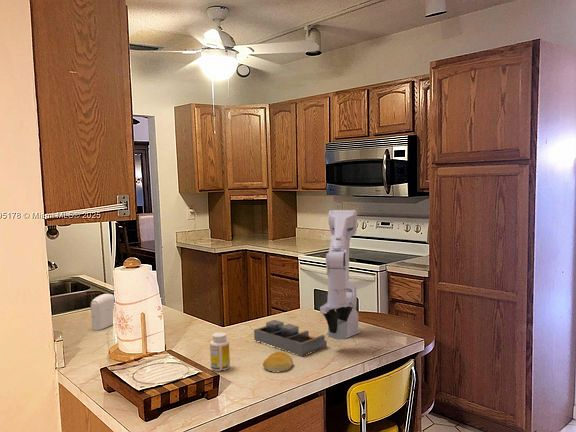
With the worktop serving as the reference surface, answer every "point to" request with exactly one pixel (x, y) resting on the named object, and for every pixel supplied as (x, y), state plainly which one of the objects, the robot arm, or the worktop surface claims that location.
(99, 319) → the photo printer
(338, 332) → the grey block
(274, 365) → the bread roll
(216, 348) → the supplement bottle
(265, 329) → the rack
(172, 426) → the worktop surface
